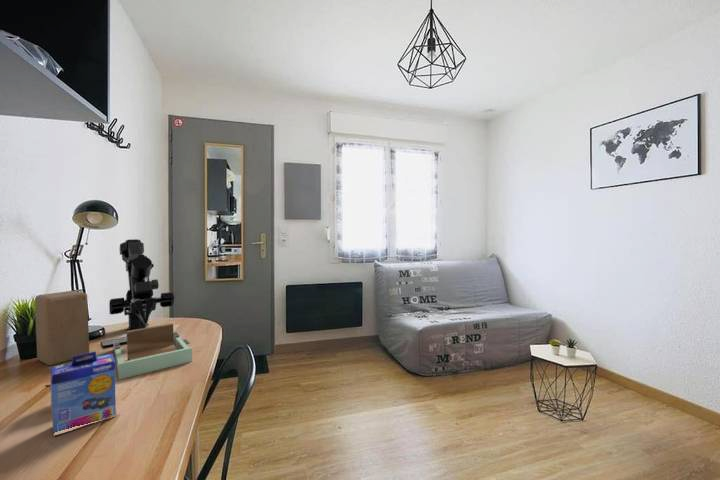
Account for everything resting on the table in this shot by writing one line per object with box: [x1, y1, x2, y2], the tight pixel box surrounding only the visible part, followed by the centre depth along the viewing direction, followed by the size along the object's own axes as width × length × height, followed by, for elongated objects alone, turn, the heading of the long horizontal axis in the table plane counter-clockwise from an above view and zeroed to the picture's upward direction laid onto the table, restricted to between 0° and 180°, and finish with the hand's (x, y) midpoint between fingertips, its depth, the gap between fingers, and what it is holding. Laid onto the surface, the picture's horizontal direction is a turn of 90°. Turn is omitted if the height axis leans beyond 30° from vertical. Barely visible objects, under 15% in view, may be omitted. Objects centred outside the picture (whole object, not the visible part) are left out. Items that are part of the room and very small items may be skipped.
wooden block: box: [34, 290, 90, 366], centre depth 99 cm, size 10×10×20 cm
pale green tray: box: [111, 329, 193, 380], centre depth 100 cm, size 28×23×4 cm
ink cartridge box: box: [50, 351, 117, 434], centre depth 65 cm, size 10×6×14 cm, turn 135°
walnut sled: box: [126, 323, 178, 361], centre depth 96 cm, size 12×12×9 cm
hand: (145, 323), depth 108 cm, fingers closed
